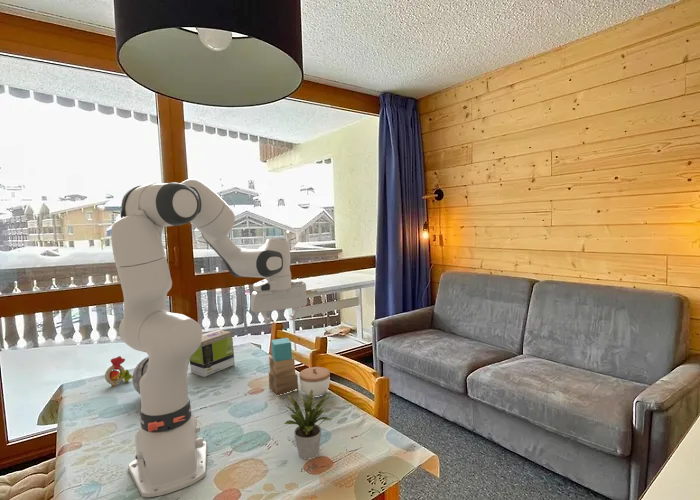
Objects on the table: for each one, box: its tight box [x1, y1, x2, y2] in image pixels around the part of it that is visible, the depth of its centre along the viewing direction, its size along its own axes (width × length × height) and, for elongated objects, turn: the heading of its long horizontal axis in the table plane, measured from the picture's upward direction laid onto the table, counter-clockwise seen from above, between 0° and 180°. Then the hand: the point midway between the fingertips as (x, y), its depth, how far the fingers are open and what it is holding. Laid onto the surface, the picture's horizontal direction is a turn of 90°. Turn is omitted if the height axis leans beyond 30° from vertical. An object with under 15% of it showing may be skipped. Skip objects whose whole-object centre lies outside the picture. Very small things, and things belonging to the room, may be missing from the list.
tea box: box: [189, 329, 236, 378], centre depth 163 cm, size 15×10×15 cm
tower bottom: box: [268, 371, 299, 396], centre depth 142 cm, size 8×8×6 cm
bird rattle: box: [104, 355, 133, 387], centre depth 152 cm, size 6×11×9 cm
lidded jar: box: [298, 366, 331, 397], centre depth 137 cm, size 11×11×9 cm
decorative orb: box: [131, 356, 149, 395], centre depth 140 cm, size 15×14×15 cm
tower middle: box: [268, 355, 296, 379], centre depth 141 cm, size 7×7×6 cm
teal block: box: [270, 337, 293, 362], centre depth 141 cm, size 6×6×6 cm
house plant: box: [283, 389, 333, 460], centre depth 101 cm, size 14×14×16 cm
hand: (280, 321), depth 140 cm, fingers open, 8 cm apart
